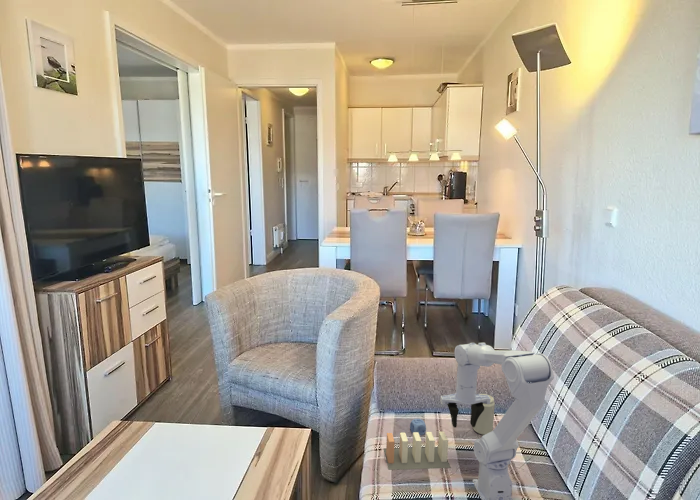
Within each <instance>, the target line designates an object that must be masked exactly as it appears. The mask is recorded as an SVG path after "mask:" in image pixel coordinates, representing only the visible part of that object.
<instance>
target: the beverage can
mask: <svg viewBox="0 0 700 500" xmlns="http://www.w3.org/2000/svg"><path fill="white" fill-rule="evenodd" d="M479 394H480V395H488V396H489V397H490V398H491V399H490V404H486V403H483V406H484V411H483V412H482V413H481V415H480V416H479V418H478V420H477V422H476V425H475V427H472V429H473V430H474V431H475V432H476V433H477V434H480V435H482V436H483V435H485V434H487V433H489V432H491V431H493V430H494V420H495V419H494V418H495V406H496V403H495V399H494V397H493V396H491V395H489V394H486V393H479Z"/></svg>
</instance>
